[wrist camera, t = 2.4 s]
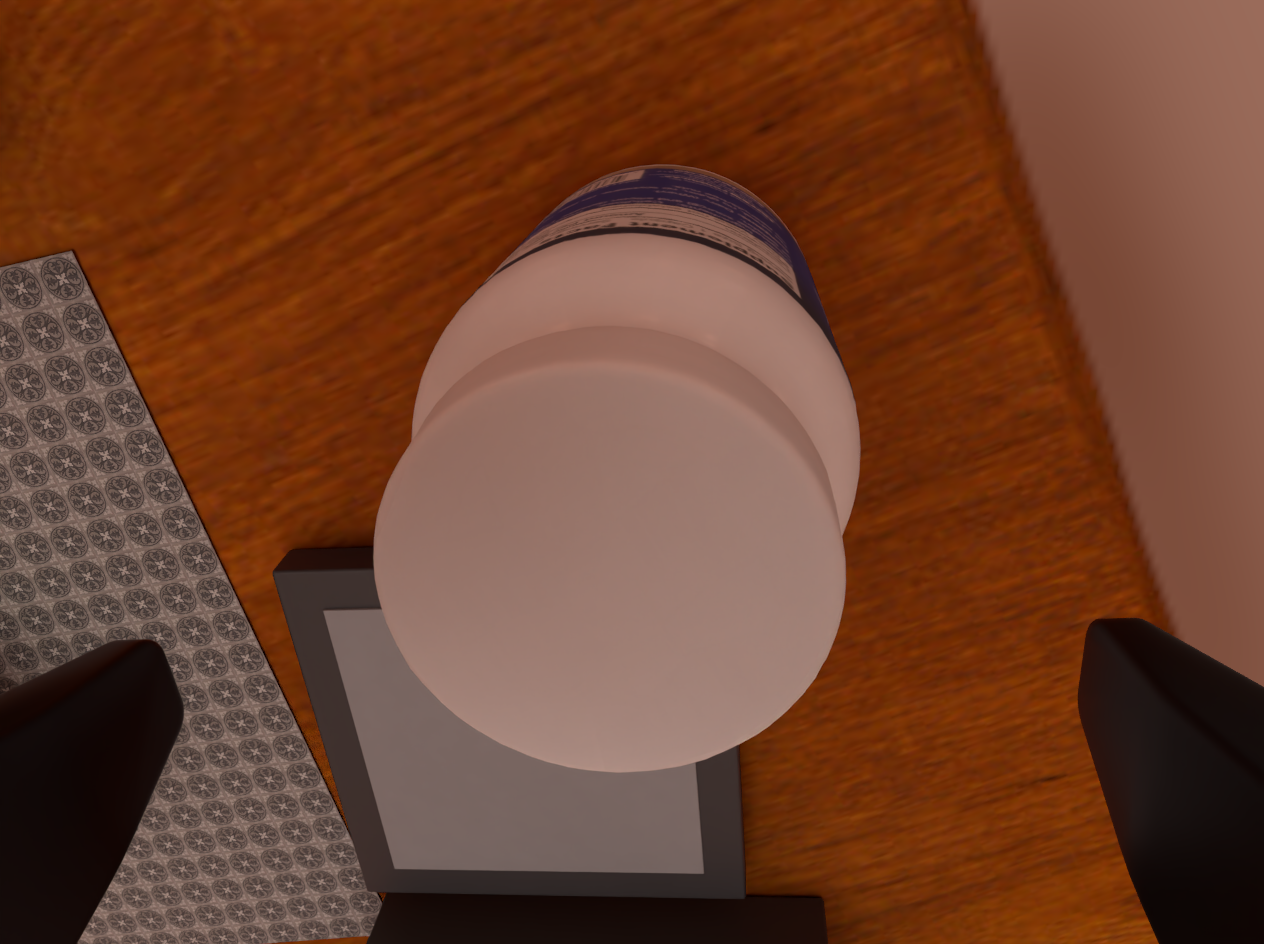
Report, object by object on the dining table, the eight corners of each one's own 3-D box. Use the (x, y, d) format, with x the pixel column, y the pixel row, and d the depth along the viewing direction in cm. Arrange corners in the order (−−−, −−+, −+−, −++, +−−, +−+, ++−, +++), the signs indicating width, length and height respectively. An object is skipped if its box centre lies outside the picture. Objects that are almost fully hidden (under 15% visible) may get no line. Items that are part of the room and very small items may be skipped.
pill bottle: (765, 476, 19) (794, 868, 10) (498, 409, 19) (293, 745, 10) (857, 200, 17) (1003, 403, 8) (548, 121, 17) (335, 235, 8)
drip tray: (728, 535, 20) (728, 560, 19) (745, 868, 24) (746, 903, 23) (289, 548, 21) (268, 573, 20) (379, 862, 25) (366, 895, 24)
